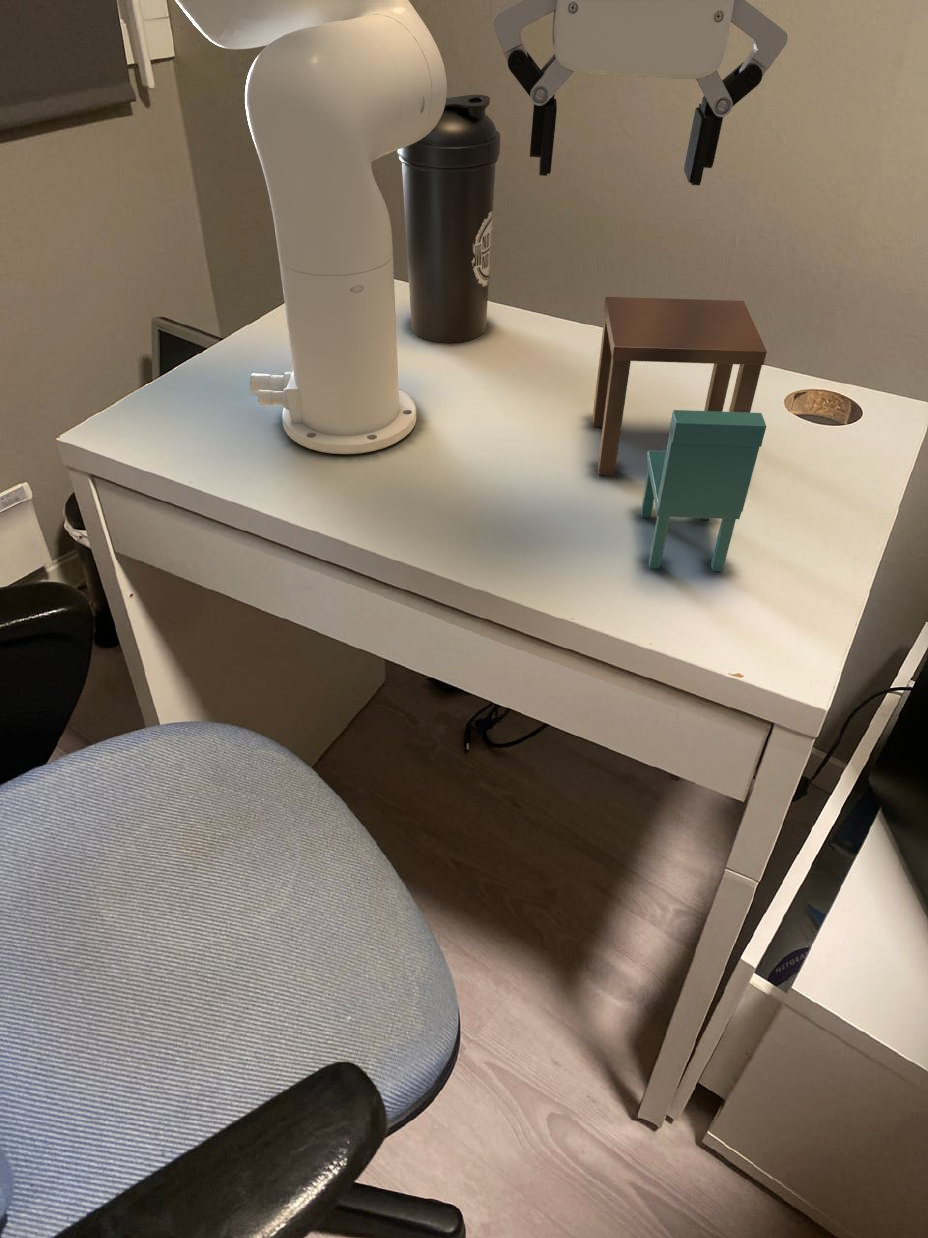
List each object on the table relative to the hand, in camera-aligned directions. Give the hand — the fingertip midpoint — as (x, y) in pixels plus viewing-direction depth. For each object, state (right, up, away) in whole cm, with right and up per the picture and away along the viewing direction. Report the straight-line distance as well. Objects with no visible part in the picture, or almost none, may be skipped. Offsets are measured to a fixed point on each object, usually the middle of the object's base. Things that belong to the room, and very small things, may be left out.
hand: (617, 173), depth 59 cm
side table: (+8, -13, +24) cm, 28 cm away
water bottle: (-12, +4, +43) cm, 45 cm away
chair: (+7, -23, +13) cm, 27 cm away
